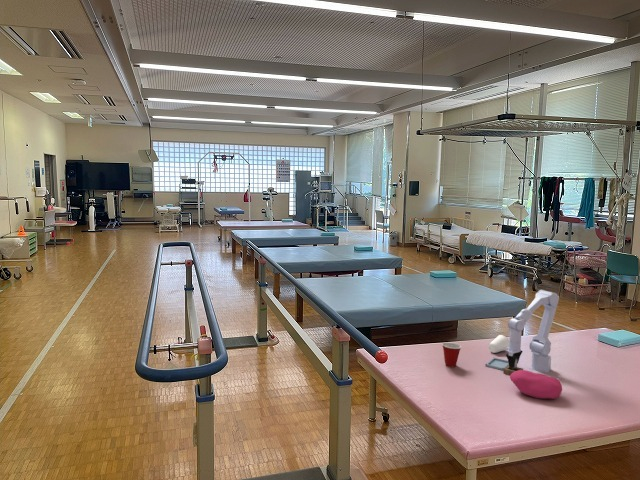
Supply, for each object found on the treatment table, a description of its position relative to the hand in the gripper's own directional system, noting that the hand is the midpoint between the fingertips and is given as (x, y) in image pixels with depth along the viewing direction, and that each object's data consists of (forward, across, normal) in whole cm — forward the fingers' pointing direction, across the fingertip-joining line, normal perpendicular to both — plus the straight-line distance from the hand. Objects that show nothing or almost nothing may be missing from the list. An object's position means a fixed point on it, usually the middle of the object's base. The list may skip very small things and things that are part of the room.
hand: (513, 365), depth 251 cm
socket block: (+5, 0, 0) cm, 5 cm away
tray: (+5, -7, -10) cm, 13 cm away
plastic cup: (+5, +10, -31) cm, 33 cm away
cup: (+2, -25, -20) cm, 32 cm away
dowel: (+4, 0, 0) cm, 4 cm away
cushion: (+5, +18, +16) cm, 25 cm away
